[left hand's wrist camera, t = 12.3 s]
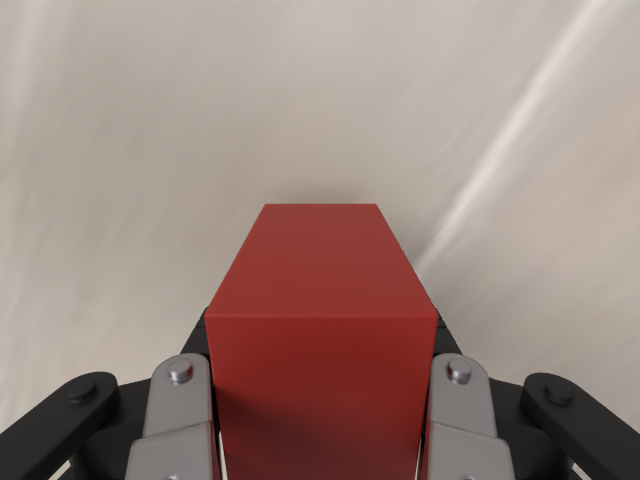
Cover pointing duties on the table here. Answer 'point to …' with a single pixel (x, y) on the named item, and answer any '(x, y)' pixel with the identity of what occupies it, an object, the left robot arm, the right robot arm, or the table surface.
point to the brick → (321, 348)
